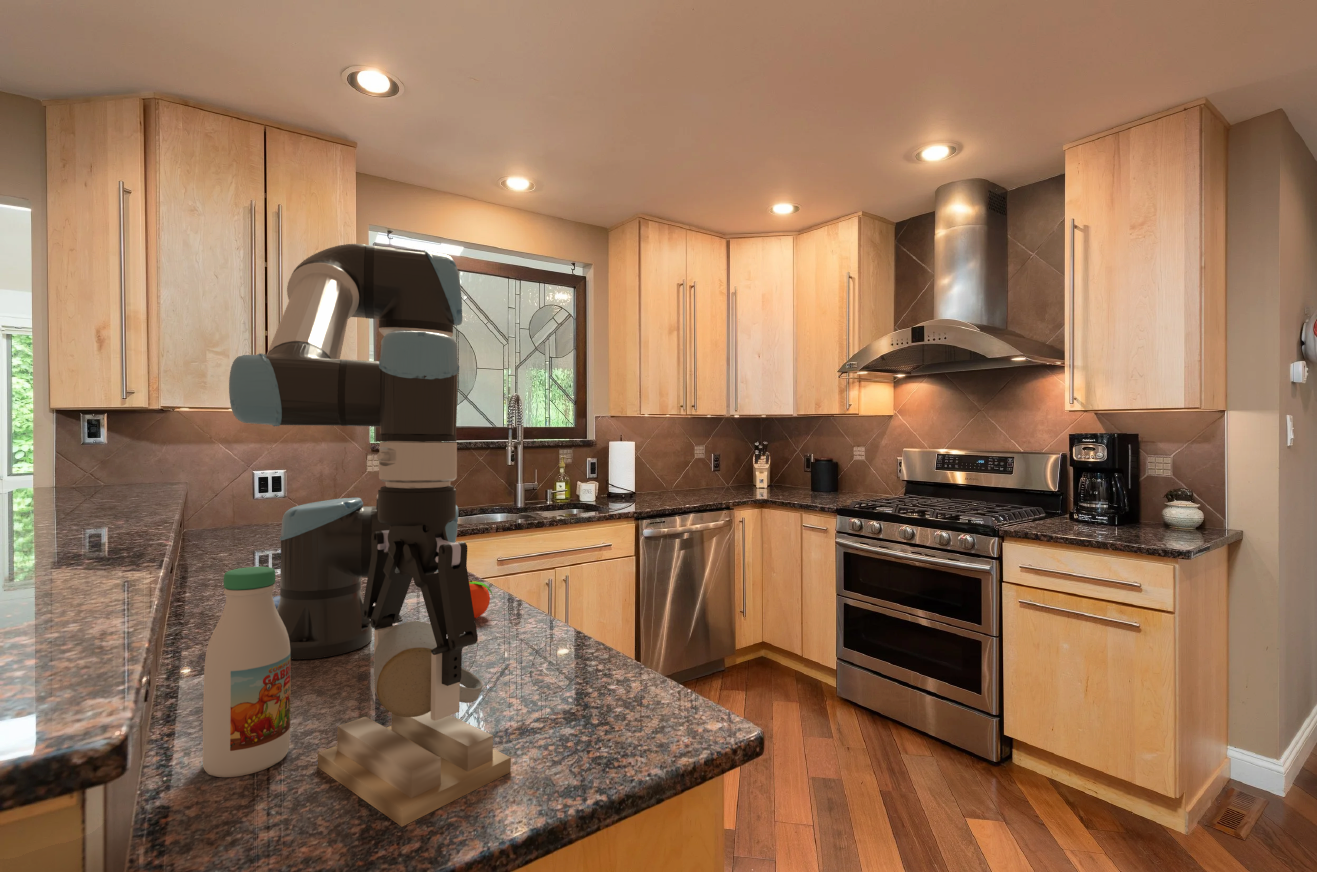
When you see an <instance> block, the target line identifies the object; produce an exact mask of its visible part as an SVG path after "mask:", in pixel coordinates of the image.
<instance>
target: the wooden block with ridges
mask: <svg viewBox="0 0 1317 872" xmlns="http://www.w3.org/2000/svg"><path fill="white" fill-rule="evenodd" d="M336 737H337V739H336V741H337V742H336V745H335V746H332V747H329V748H327V749H323V750H321V751H318V752H317V768H318V769H319V770H321V771H322V772H323V773H325V774H327V775H328V776H329V777H331V778H332V779H333V780H335V781H336V782H338V783H339V784H341V785H342V786H343V787H345V788H346V789H348V790H349V791H351V792H352V793H353V794H354V795H356V796H358V797H359V798H360V799H362V800H363V801H364V802H366V803H367V804H369V805H370V806H371V807H373V808H374V809H376V810H377V811H379V812H380V813H381V814H383V815H385V816H386V817H387V818H389V819H390V820H391V821H393V822H395V823H396V824H397V825H398V826H400V827H401V828H402V827H405V826H407V825H408V824H410V823H412V822H415V821H417V820H419V819H420V818H423V817H424V816H426V815H429V814H430V813H432V812H434V811H436V810H438V809H440V808H443V807H444V806H446V805H449V804H450V803H452V802H455V800H458V799H460V798H462V797H464V796H466V795H468V794H470V793H472V792H473V791H476V790H478V789H480V788H482V787H484V786H486V785H488V784H490V783H492V782H494V781H496V780H498V779H499V778H501V777H503V776H506V775H508V774H509V773H511V772H512V768H511V767H512V765H511V763H512V756H511V757H510V756H509V755H507V754H504V753H503V752H500V751H499V750H497V749H495V748H494V734H491V733H489V732H487V731H484V730H482V729H480V728H478V727H476V726H474V725H473V724H470V723H467V722H466V721H464V720H462V719H460V718H457V717H455V716H452V715H450V716H447V717H444V718H442V719H439V720H436V721H434V720H432V719H431V711H430V712H428V713H426V714H424V715H421V716H417V717H401V716H396V715H394V714H392V713H391V725H389V726H384V725H383V724H380V723H378V722H377V721H374V720H372V719H371V718H369V717H367V716H363V717H360V718H357V719H354V720H351V721H349V722H346V723H343V724H339V725H337V735H336Z"/></svg>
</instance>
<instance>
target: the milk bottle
mask: <svg viewBox="0 0 1317 872" xmlns="http://www.w3.org/2000/svg"><path fill="white" fill-rule="evenodd" d="M223 588H224V591H223V593H222V594H224V595H225V596H226V598H225V604H224V608H223V610H222V614H221V616H220V618H219V620H218V622H217V624H216V626H215V628H214V630H213V632H212V634H211V636H210V638H209V640H208V644H207V648H206V651H205V652H206V653H205V657H204V670H203V671H204V673H203V700H202V701H203V703H202V704H203V705H202V707H203V708H202V710H203V711H202V768H203V769H204V771H205V773H207V774H208V775H209V776H211V777H215V778H216V777H217V778H235V777H243V776H246V775H251V774H255V773H258V772H261V771H264V770H266V769H268V768H270V767H273V766H274V765H276V764H279V762H281V761H282V760H283V759H284V758H285V757H286V756H287V753H288V752H289V749H290V743H291V742H290V741H291V696H292V695H291V691H292V690H291V686H292V685H291V684H292V683H291V679H292V678H291V677H292V676H291V674H292V673H291V671H292V670H291V668H292V667H291V665H292V664H291V661H292V659H291V657H290V642H289V637H288V633H287V630H286V627H285V625H284V623H283V621H282V620H281V618H280V616H279V614H278V612H277V609H276V607H275V604H274V600H273V597H274V596H273V592H274V590H275V589H276V570H275V568H273V567H270V566H247V567H239V568H234V569H231V570H227V571H226V572H225V573H224V575H223Z"/></svg>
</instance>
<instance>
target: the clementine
mask: <svg viewBox="0 0 1317 872" xmlns="http://www.w3.org/2000/svg"><path fill="white" fill-rule="evenodd" d="M469 585H470V592H471V598H472V605H473V611H474V618H475V619H477V618H479V617H481V616H482V615H483V614H485V613H486V611H487V610H488V608H489V605H490V601H491V596H490V593H491V595H492V597H494V596H493V593H492V589H491V588H490V586H488V585H487V584H485V583H483V582H481V581H475V580H470V579H469Z"/></svg>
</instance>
